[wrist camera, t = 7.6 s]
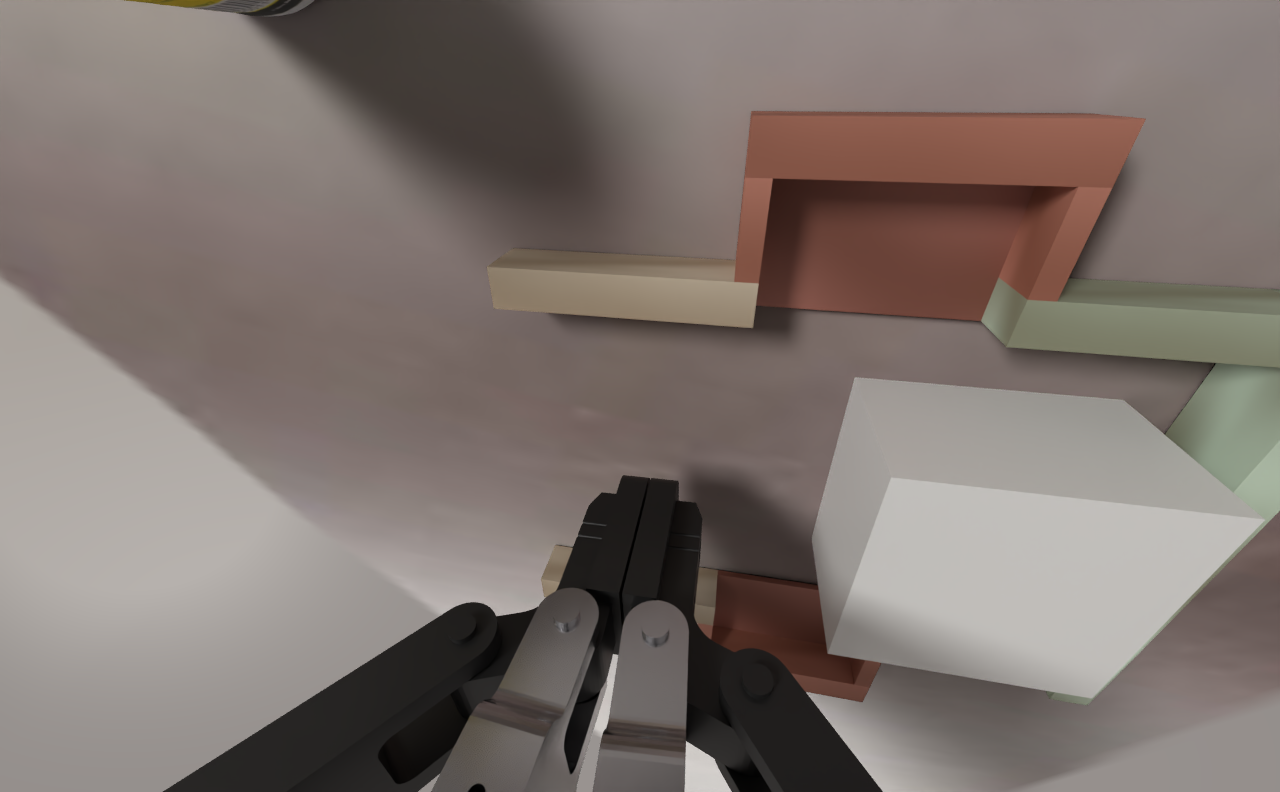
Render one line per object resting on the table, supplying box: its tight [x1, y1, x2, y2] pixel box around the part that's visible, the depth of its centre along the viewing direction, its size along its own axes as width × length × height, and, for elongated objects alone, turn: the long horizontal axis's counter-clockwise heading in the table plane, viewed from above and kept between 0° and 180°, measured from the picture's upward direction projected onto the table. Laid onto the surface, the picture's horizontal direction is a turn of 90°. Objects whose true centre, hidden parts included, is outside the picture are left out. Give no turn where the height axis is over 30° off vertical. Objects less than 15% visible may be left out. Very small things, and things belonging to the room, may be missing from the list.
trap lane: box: [487, 111, 1280, 705], centre depth 13 cm, size 18×17×2 cm
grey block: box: [812, 377, 1265, 698], centre depth 12 cm, size 6×6×4 cm
